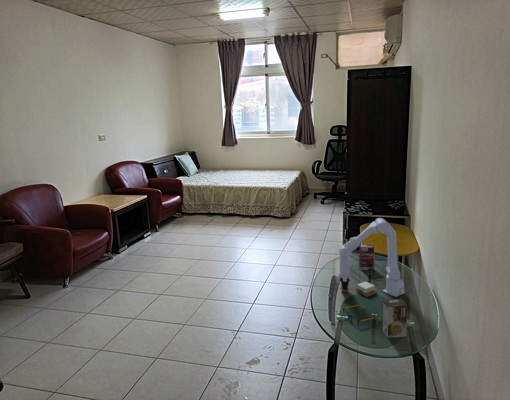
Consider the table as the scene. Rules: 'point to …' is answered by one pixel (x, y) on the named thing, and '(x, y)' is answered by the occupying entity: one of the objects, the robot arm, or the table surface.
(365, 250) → the supplement box
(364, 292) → the walnut base slab
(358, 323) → the eyeglasses
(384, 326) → the coffee box
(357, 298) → the table surface
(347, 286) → the salmon pink cylinder
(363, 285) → the sage top slab
